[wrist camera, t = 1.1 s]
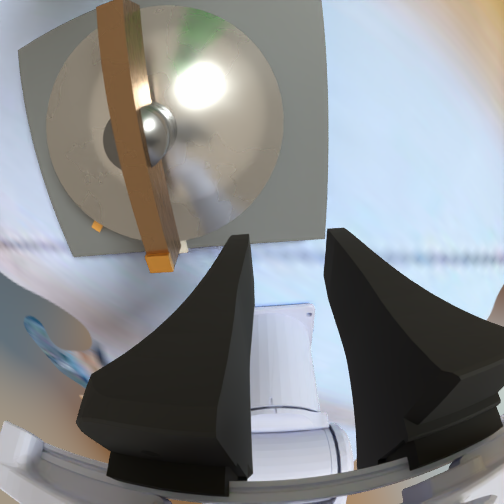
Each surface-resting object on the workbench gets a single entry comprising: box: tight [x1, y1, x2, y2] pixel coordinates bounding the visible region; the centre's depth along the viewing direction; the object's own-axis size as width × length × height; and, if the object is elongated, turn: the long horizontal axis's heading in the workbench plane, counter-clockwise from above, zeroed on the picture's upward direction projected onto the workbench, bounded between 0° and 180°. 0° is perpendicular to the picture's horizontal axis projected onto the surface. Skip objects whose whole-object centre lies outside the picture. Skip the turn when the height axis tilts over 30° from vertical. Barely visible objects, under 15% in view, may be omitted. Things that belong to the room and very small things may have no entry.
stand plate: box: [18, 0, 328, 257], centre depth 14 cm, size 16×18×2 cm
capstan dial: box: [46, 0, 284, 273], centre depth 12 cm, size 13×13×4 cm
